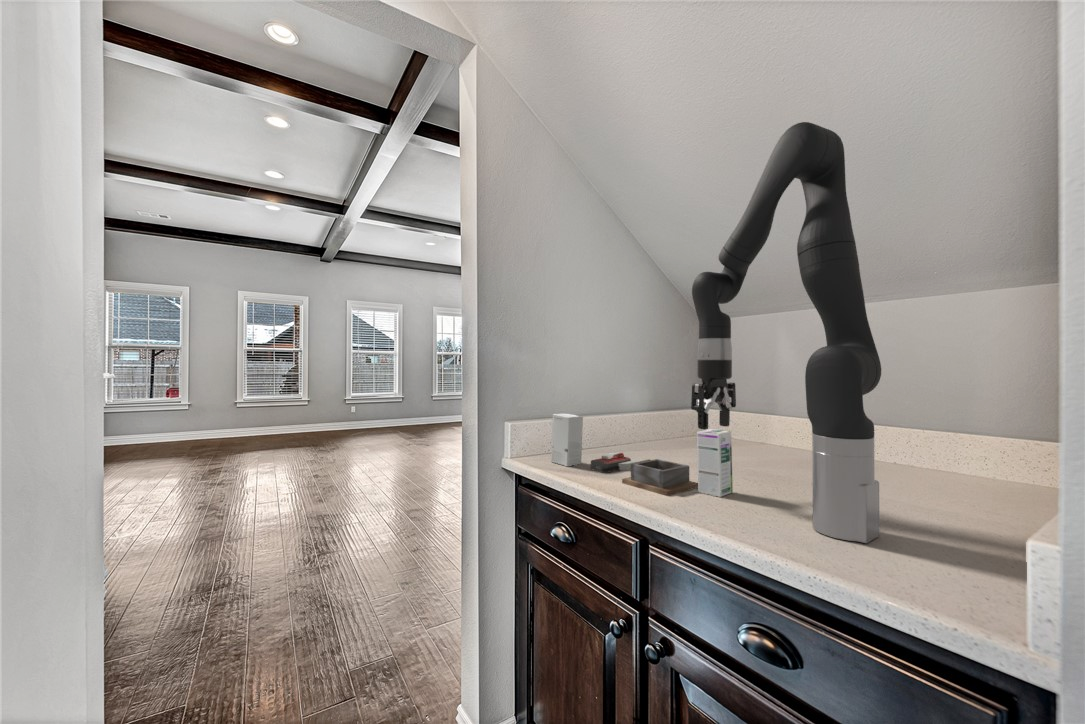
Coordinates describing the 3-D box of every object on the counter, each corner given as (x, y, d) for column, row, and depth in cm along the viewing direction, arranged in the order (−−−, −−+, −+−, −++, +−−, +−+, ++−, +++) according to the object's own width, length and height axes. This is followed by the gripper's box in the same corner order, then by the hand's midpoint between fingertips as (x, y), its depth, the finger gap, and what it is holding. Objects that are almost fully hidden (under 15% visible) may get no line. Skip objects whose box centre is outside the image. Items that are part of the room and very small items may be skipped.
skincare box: (550, 462, 138) (550, 414, 138) (565, 459, 142) (565, 412, 142) (568, 467, 132) (568, 416, 132) (583, 464, 135) (583, 415, 135)
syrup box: (721, 497, 101) (720, 433, 101) (696, 492, 105) (696, 430, 105) (733, 493, 105) (732, 430, 105) (709, 487, 109) (708, 428, 109)
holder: (698, 487, 110) (698, 466, 110) (667, 495, 103) (667, 473, 103) (653, 475, 121) (653, 457, 121) (622, 482, 114) (622, 463, 114)
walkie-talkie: (609, 476, 122) (653, 465, 135) (609, 460, 122) (653, 451, 135) (585, 470, 129) (630, 461, 142) (585, 455, 129) (630, 447, 142)
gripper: (710, 358, 98) (710, 432, 98) (746, 358, 106) (745, 427, 106) (682, 358, 104) (681, 428, 104) (717, 358, 112) (717, 423, 112)
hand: (714, 427), depth 105 cm, fingers open, 8 cm apart
